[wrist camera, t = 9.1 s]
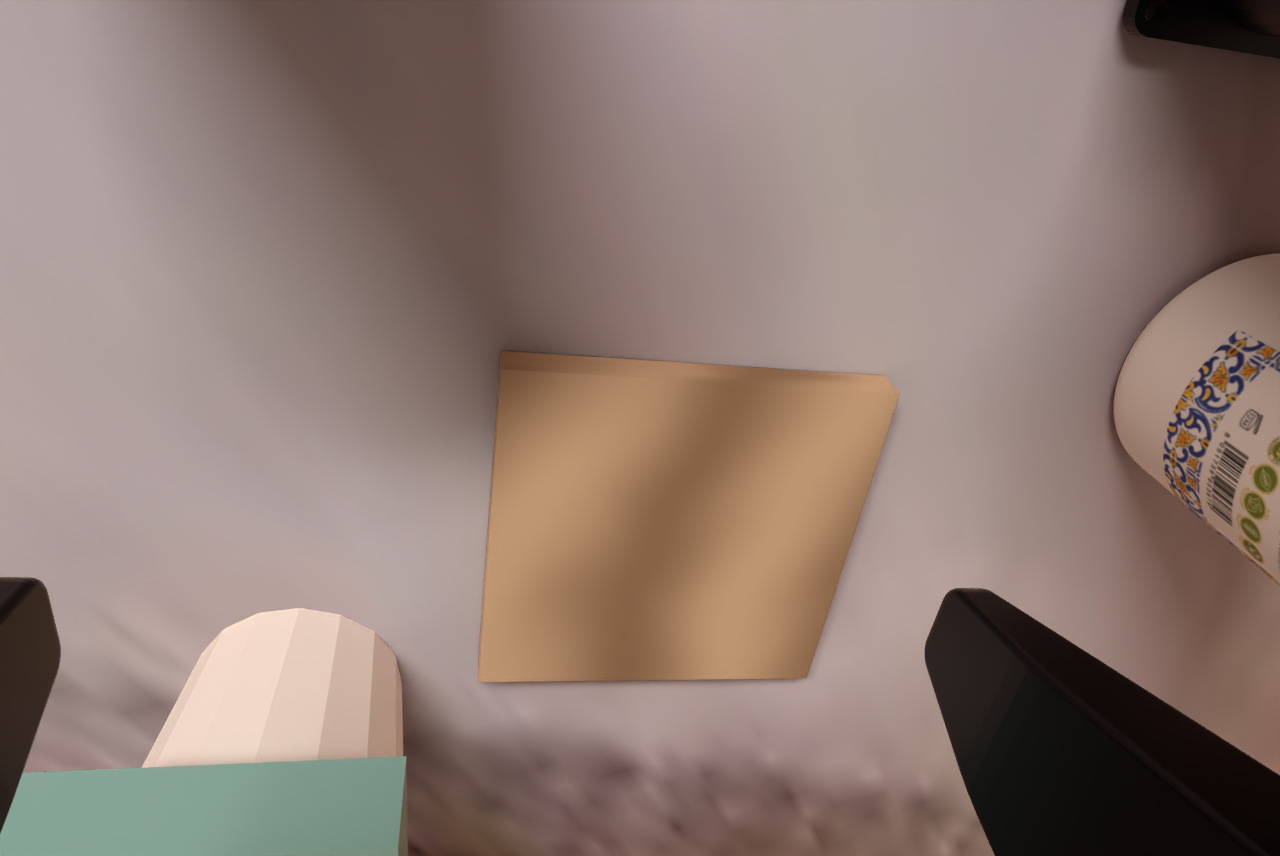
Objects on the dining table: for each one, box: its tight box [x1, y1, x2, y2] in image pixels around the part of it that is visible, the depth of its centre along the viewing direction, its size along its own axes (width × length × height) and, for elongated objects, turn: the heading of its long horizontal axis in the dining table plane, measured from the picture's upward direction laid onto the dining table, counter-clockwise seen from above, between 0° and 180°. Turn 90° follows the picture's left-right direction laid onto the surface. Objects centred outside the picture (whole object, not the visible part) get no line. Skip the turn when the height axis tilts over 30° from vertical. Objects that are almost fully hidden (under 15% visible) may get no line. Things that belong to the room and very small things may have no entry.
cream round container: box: [142, 608, 403, 768], centre depth 22 cm, size 7×7×7 cm
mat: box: [478, 351, 900, 682], centre depth 24 cm, size 10×10×1 cm
